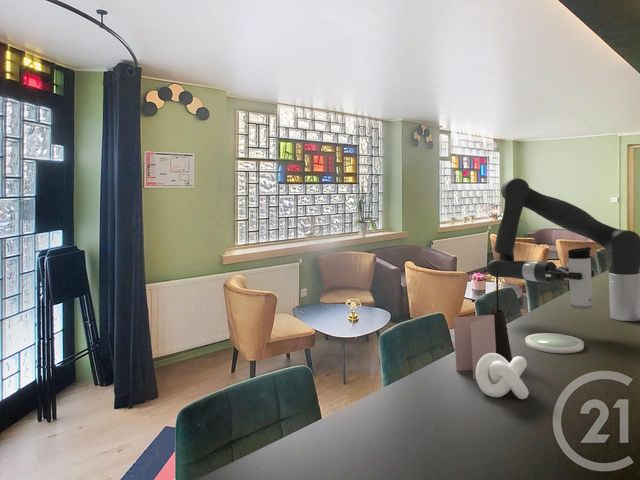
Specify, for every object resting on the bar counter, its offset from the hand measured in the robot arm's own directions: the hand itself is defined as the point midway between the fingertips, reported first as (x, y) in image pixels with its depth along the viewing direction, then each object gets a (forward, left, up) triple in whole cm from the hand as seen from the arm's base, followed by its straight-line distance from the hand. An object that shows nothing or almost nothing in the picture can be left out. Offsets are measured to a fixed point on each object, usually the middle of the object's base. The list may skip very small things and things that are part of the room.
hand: (587, 275), depth 131 cm
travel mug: (-2, -2, -11) cm, 11 cm away
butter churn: (+25, -30, -21) cm, 44 cm away
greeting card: (+37, -36, -21) cm, 56 cm away
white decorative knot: (+50, -31, -21) cm, 63 cm away
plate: (+10, -13, -21) cm, 26 cm away
